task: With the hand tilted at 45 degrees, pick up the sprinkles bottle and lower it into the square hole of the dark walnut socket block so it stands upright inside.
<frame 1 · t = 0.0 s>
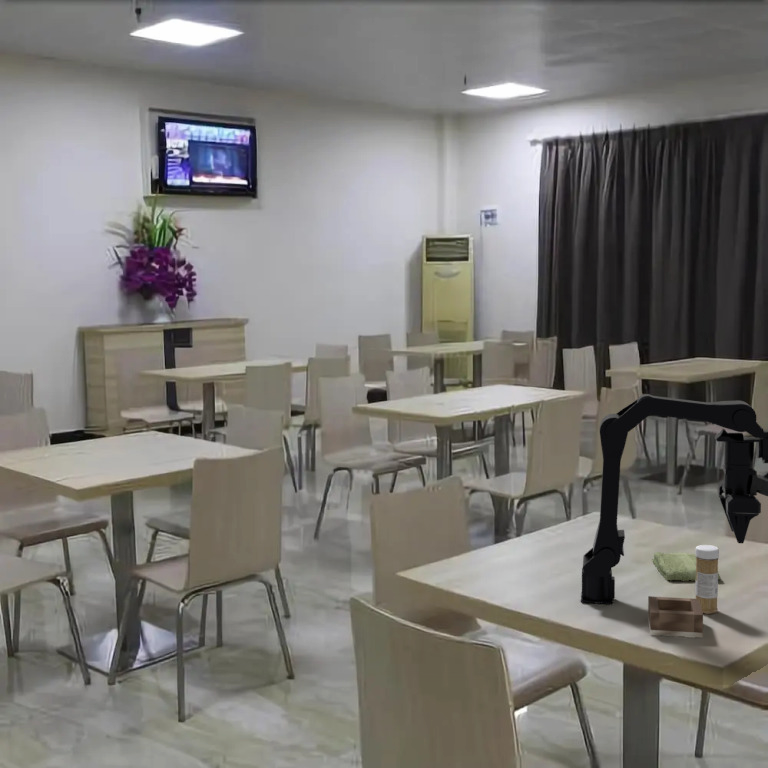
hand: (737, 537, 203), 15 cm above the table, tool pointing down, fingers open, 9 cm apart
washcloth: (684, 573, 230), on the table
socket block: (674, 627, 193), on the table
sprinkles bottle: (706, 611, 202), on the table
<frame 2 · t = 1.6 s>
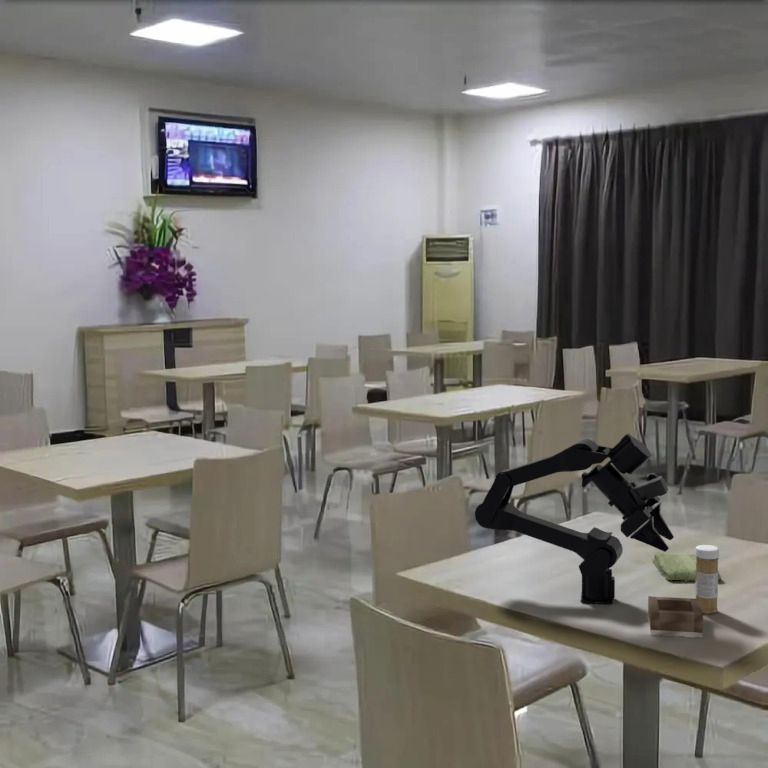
hand: (669, 544, 203), 13 cm above the table, tool tilted 45°, fingers open, 9 cm apart
nothing on the table moved.
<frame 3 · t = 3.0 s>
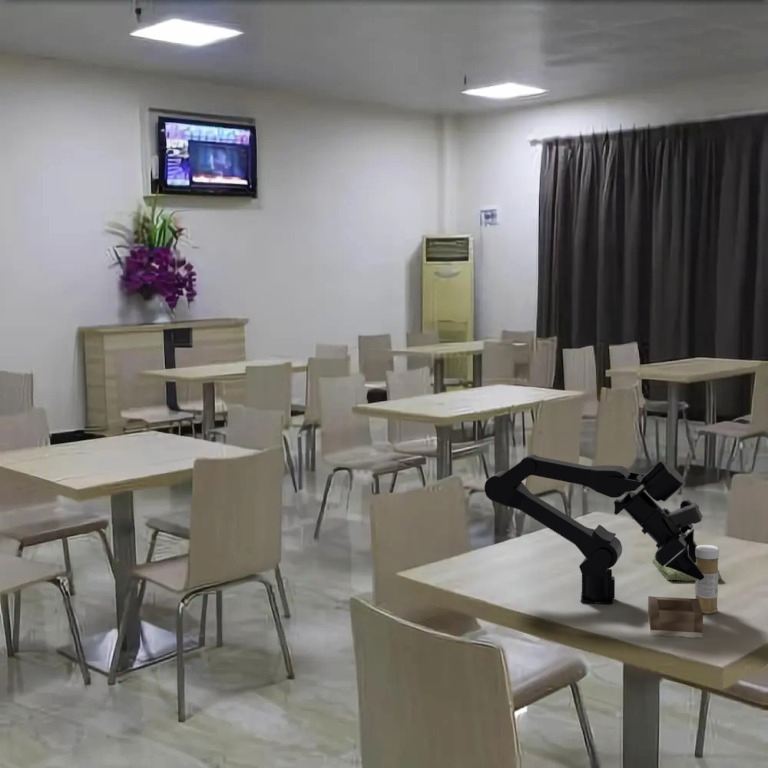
hand: (704, 572, 201), 8 cm above the table, tool tilted 45°, fingers open, 9 cm apart
nothing on the table moved.
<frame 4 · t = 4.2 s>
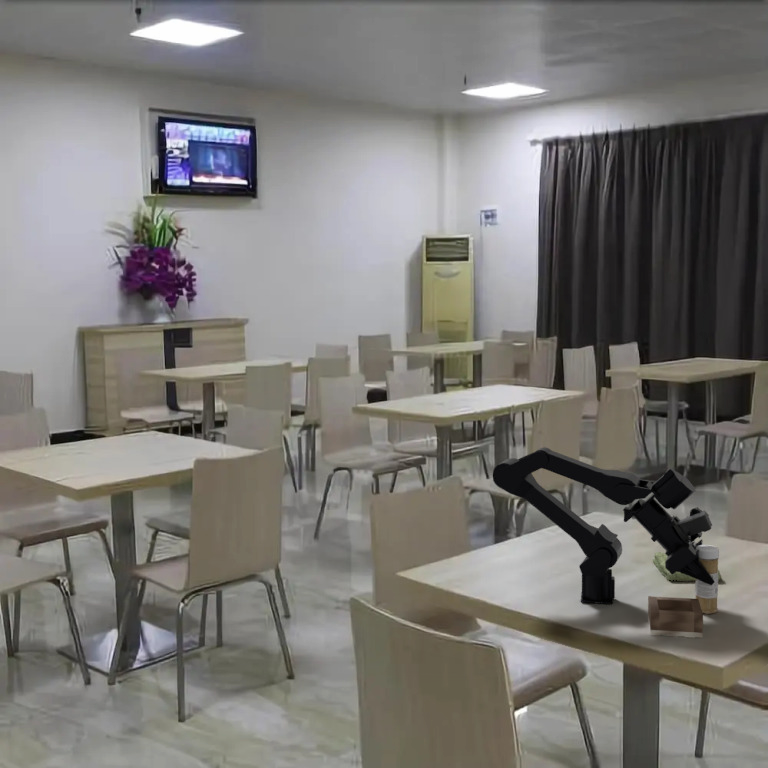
hand: (713, 580, 201), 7 cm above the table, tool tilted 45°, fingers closed on sprinkles bottle, 4 cm apart
sprinkles bottle: (706, 611, 202), on the table, touching gripper
everything else where it was.
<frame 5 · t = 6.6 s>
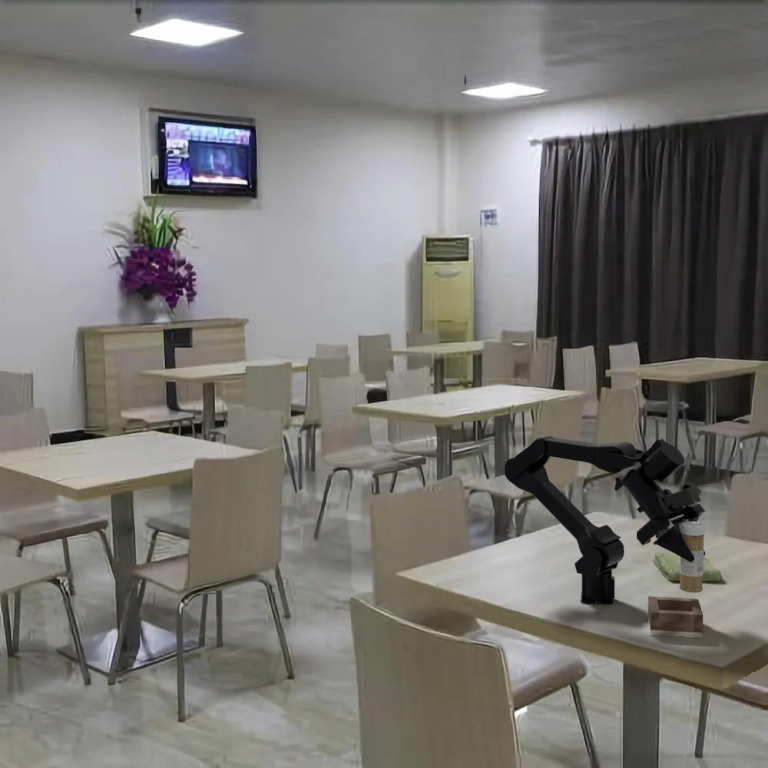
hand: (698, 558, 193), 13 cm above the table, tool tilted 45°, fingers closed on sprinkles bottle, 4 cm apart
sprinkles bottle: (690, 590, 195), point 6 cm above the table, touching gripper
everything else where it was.
when the fingers open (9 cm above the table, at t = 8.8 s): sprinkles bottle drops 1 cm, resting on socket block.
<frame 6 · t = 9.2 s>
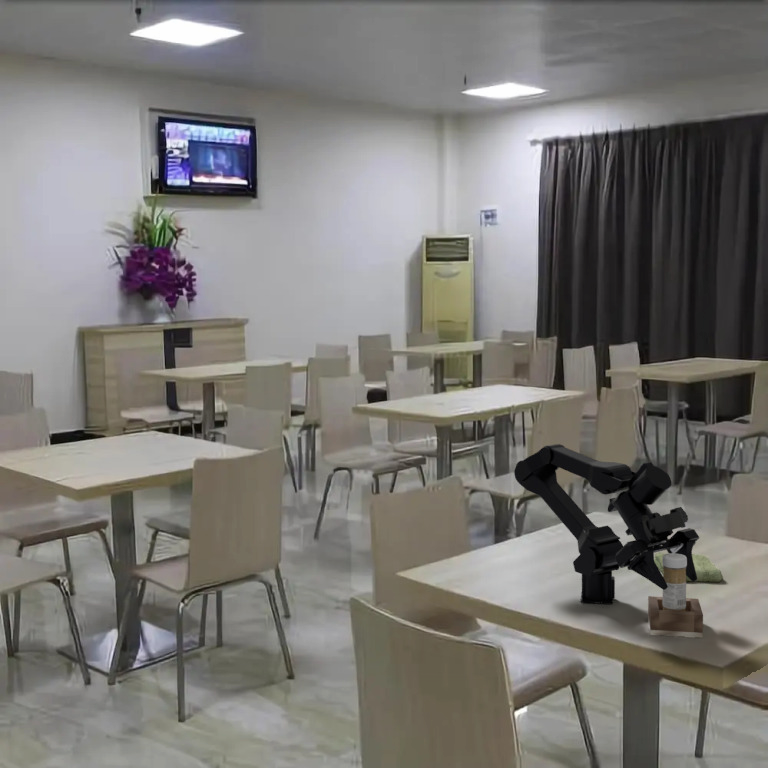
hand: (680, 584, 191), 9 cm above the table, tool tilted 45°, fingers open, 8 cm apart
sprinkles bottle: (673, 623, 193), point 1 cm above the table, touching socket block
everything else where it was.
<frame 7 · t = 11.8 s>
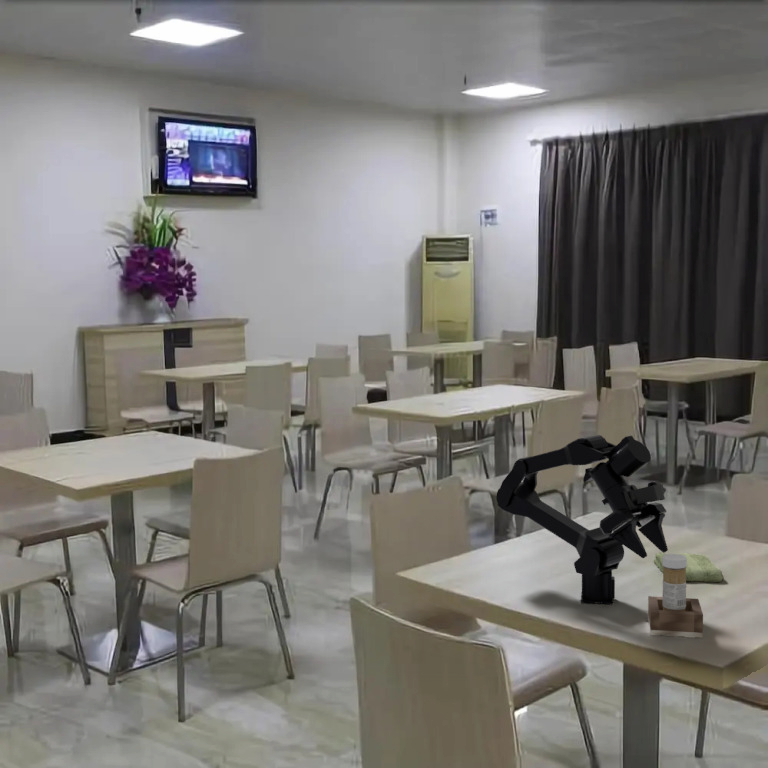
hand: (655, 554, 198), 13 cm above the table, tool tilted 40°, fingers open, 9 cm apart
nothing on the table moved.
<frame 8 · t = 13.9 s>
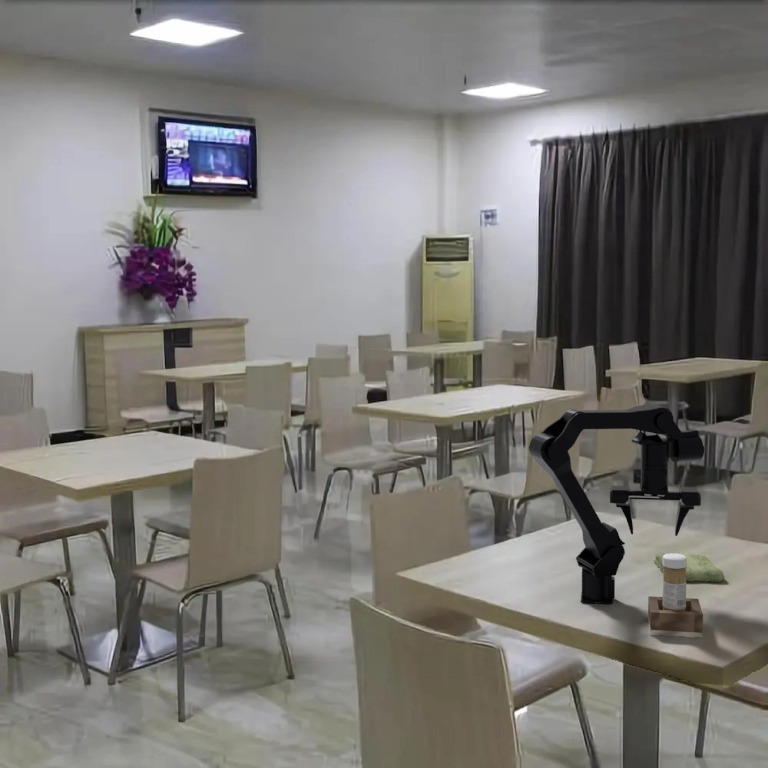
hand: (653, 534, 212), 13 cm above the table, tool pointing down, fingers open, 9 cm apart
nothing on the table moved.
at the end: sprinkles bottle 0.2 cm off-centre on the socket block, point 0.8 cm above the socket block's base; sprinkles bottle tilted 0°; the gripper is holding nothing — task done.
